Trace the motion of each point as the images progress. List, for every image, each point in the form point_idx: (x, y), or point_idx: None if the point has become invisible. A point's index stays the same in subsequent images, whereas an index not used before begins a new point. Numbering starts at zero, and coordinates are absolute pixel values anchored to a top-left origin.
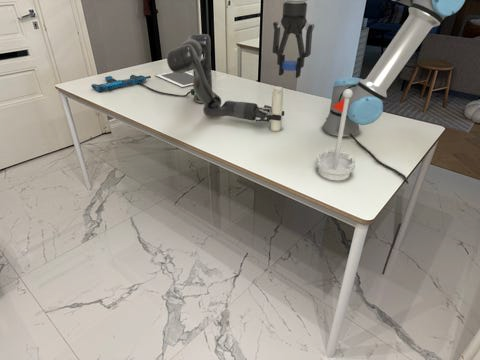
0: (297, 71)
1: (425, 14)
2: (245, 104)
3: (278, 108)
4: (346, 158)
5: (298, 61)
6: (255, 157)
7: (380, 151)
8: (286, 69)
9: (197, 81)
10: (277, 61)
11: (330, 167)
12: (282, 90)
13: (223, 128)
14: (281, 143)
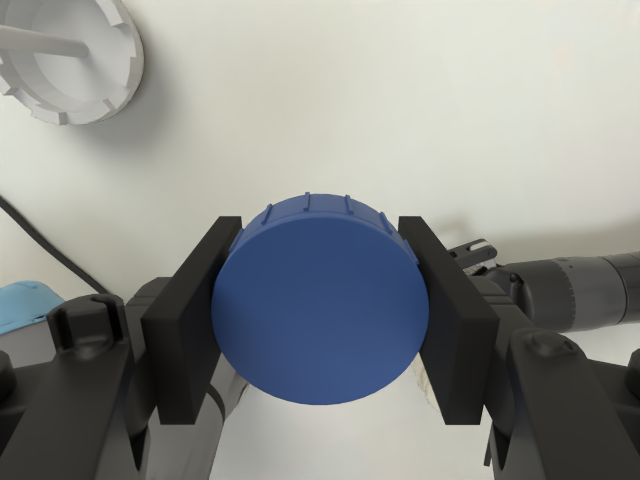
0: (210, 238)
1: None
2: (574, 301)
3: None
4: (44, 104)
5: (168, 292)
6: (393, 17)
7: (27, 275)
8: (330, 197)
9: None
10: (504, 298)
11: (99, 60)
12: (423, 383)
13: (601, 197)
14: (342, 180)
